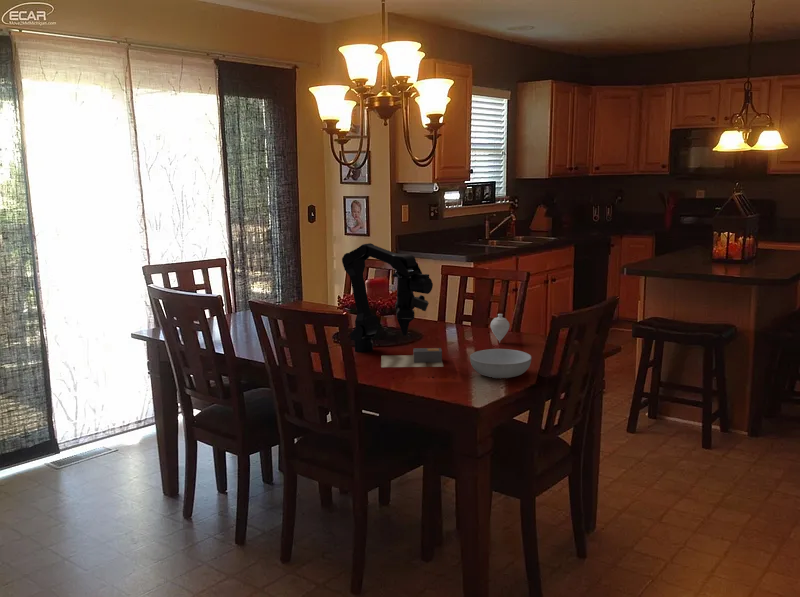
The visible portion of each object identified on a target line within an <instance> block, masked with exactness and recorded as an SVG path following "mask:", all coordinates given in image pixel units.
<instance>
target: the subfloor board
mask: <svg viewBox="0 0 800 597" xmlns="http://www.w3.org/2000/svg"><path fill="white" fill-rule="evenodd" d="M380 367H381V368H440V367H441V368H443V367H445V366H444V363H443V361H442V362H425V363H414V354H411V355H409V354H407V355H402V354H399V355H398V354H397V355H381V360H380Z"/></svg>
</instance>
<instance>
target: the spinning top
mask: <svg viewBox="0 0 800 597" xmlns="http://www.w3.org/2000/svg"><path fill="white" fill-rule="evenodd" d="M503 315H504V314H503V313H498V314H497V317H494V318H493V319H492V320H491V322H490V330H491V331H492V333H493V335H494V336H495V338H496V339H497V340H498V342H499V344H500V343H501V341H502V340H503V338H504V337H505V336H506V334H507V333H508V331H509V329H510V326H511V324H510V322H509V321H508V319H507V318H505V317H503Z"/></svg>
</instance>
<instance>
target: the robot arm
mask: <svg viewBox="0 0 800 597" xmlns="http://www.w3.org/2000/svg"><path fill="white" fill-rule="evenodd" d="M369 258H373V259H375V260H378V261H381V262H383V263H386V264H388V265H390V266H391V268H392V269H394V270H395V271H396V272H394V273H393V274H391V275H392V277H394V278H397V279H396V280H397V282H396V302H395V312H396V320H397V322H398V324H399V328H400V331H401V334H402V335H403V336H404V337H405V336H407V334H408V330H409V326H410V323H411V322H412V321H413V320H414V319H415V310H414V309H415V308H416V309H419V310H421V311H423V312H426V311H427V309H428V307H429V301H428V300H426V299H425V295H422V294H426V295H428V294H430V293H431V292H432V290H433V285H434V284H433V281H432V279H431V278H430V274H428V273H425V274H424V273H423V272H422V270H421V269H420V266H419V265H418V263H417V260H416V257H415V256H414V255H412V254H407V253H396V252H393V251H390V250H388V249H385V248H382V247H380V246H377V245H374V244H373V243H370V242H369V243H363V244H361V245H360V246H359V247H356V248H355V249H353V250H351V251H350V252H346V253H344V255H343V256H342V258H341V262H342V267H343V269H344V271H345V272H346V273H347V275H348V276H349V278H350V284H351V288H352V293H353V299H354V303H355V307H356V308H355V309H356V317H355V321H354V325H355V326H354V327H355V328H354V329H353V330H352V332H351V333H350V334H349V337H350V339H351V340H352V341H354V352H355V353H356V352H357V353H370V352H374V342H373V340H372V338H375V337H376V334H377V332H378V330H379V322H378V316H377V314H373V313H372V312H371V309H370V305H369V298H368V294H367V289H366V284H365V278H364V272H365V269H366V261H367V260H368V259H369ZM414 293H419V294H420V295H418V296H415V294H414Z"/></svg>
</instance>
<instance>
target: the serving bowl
mask: <svg viewBox="0 0 800 597" xmlns="http://www.w3.org/2000/svg"><path fill="white" fill-rule="evenodd" d="M532 358H533V357H532V355H531V354H529V353H527V352H526V351H525V352H524V351H522V350H519V349H518V350H517V349H508V348H490V349H483V350H482V349H481V350H477V351H474V352H473V353H471V354H470V355H469V360H470V364H471V366H472V369H473V370H474V371H475V372H477V374H480V375H482V376H483V377H484V376H485V377H489V378H491V377H492V378H493V379H497V378H500V379H501V378H506V379H510V378H514V377H518V376H521V375H522V374H524V373H526V372H527V370H528V369H529V368H530V366H531V363H532ZM492 378H491V379H492ZM501 380H502V379H501Z"/></svg>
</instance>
